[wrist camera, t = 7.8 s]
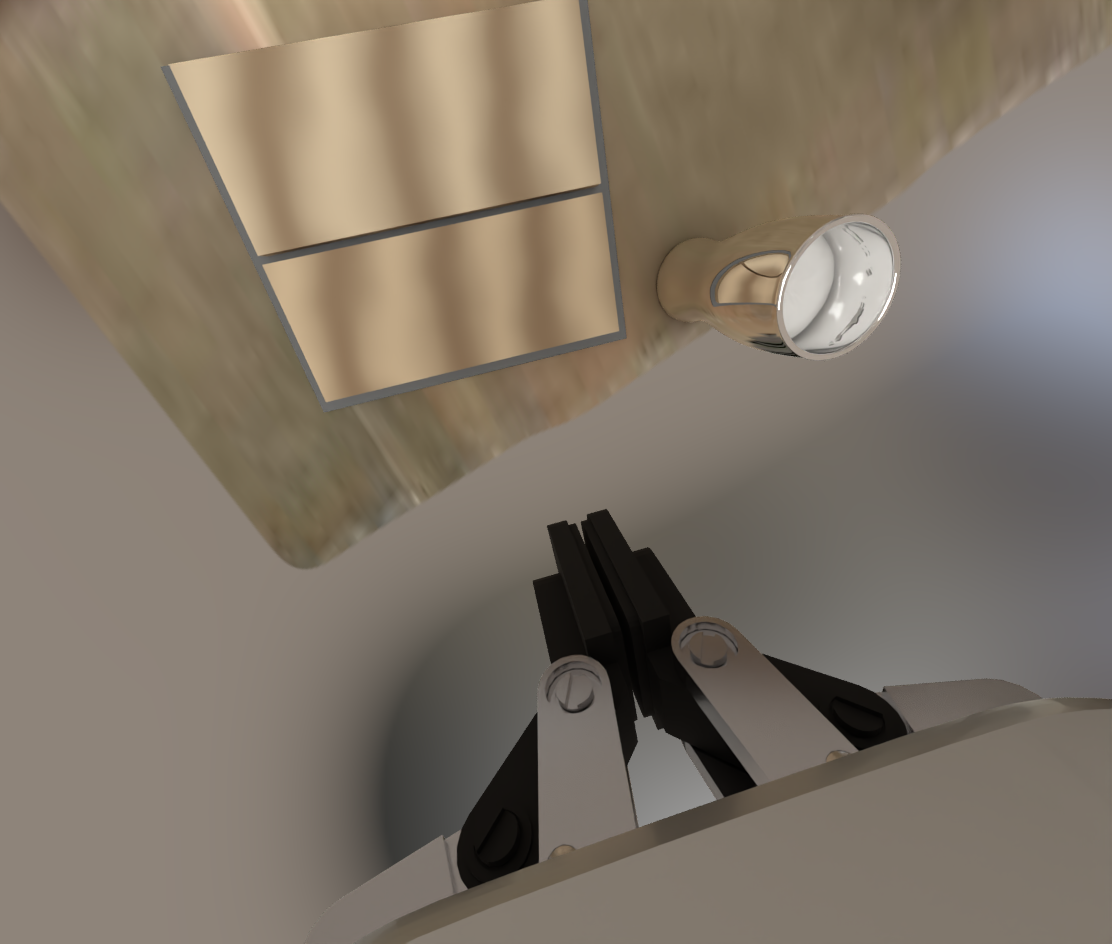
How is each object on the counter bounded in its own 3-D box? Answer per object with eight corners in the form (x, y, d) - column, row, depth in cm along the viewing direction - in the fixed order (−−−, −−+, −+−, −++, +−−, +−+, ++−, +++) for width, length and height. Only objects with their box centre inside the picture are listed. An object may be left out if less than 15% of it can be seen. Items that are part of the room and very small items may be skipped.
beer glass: (633, 274, 33) (750, 281, 20) (707, 209, 32) (882, 169, 19) (678, 345, 36) (805, 392, 23) (747, 287, 35) (921, 302, 22)
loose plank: (595, 195, 30) (602, 192, 28) (613, 328, 34) (619, 331, 33) (271, 264, 28) (262, 264, 27) (331, 396, 32) (325, 402, 31)
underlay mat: (584, -3, 26) (586, -7, 25) (624, 337, 35) (626, 338, 34) (164, 69, 24) (160, 66, 23) (325, 410, 33) (323, 412, 32)
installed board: (571, 8, 25) (577, -7, 24) (594, 186, 30) (601, 183, 28) (185, 75, 24) (168, 64, 22) (267, 256, 28) (257, 256, 26)
